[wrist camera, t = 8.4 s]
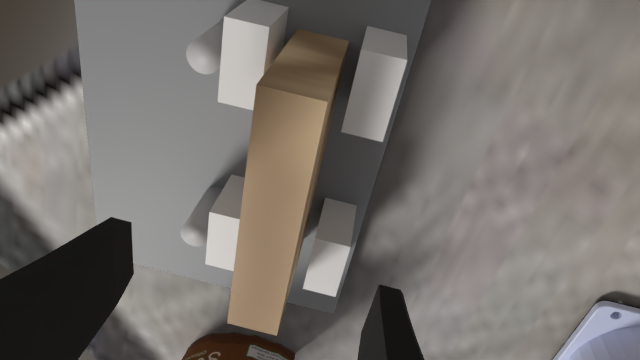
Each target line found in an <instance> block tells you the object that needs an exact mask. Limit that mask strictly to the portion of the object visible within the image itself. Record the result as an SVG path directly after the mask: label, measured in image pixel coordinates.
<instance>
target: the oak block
mask: <svg viewBox="0 0 640 360" xmlns="http://www.w3.org/2000/svg"><path fill="white" fill-rule="evenodd" d="M348 44H349V41H346V40H342V39H338V38H334V37H330V36H325V35H321V34H317V33H313V32H309V31H304V30H300V29H298V30H297V31H296V32H295V34H294V35H293V36H292V38H291V39H290V40H289V42H288V43H287V44H286V46H285V47H284V48H283V50H282V51H281V52H280V54H279V55H278V56H277V58H276V59H275V60H274V62H273V63H272V64H271V66H270V67H269V68H268V70H267V71H266V72H265V74H264V75H263V76H262V78H261V79H260V80H259V82H258V83H257V84H256V92H255V100H254V108H253V116H252V124H251V132H250V141H249V149H248V157H247V165H246V173H245V181H244V189H243V198H242V206H241V214H240V222H239V230H238V238H237V247H236V255H235V263H234V271H233V279H232V287H231V295H230V304H229V312H228V320H227V323H228V324H232V325H236V326H240V327H244V328H248V329H252V330H256V331H260V332H264V333H268V334H271V335H275V336H277V334H278V330H279V326H280V323H281V319H282V316H283V312H284V309H285V305H286V302H287V298H288V295H289V291H290V287H291V284H292V280H293V277H294V273H295V270H296V266H297V263H298V259H299V256H300V252H301V248H302V245H303V241H304V238H305V233H306V229H307V224H308V220H309V216H310V211H311V207H312V202H313V198H314V194H315V189H316V185H317V180H318V176H319V172H320V167H321V163H322V158H323V154H324V150H325V145H326V141H327V136H328V132H329V128H330V123H331V119H332V114H333V110H334V106H335V101H336V97H337V92H338V88H339V84H340V79H341V75H342V70H343V66H344V62H345V57H346V53H347V48H348Z"/></svg>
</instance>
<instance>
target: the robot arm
mask: <svg viewBox="0 0 640 360" xmlns="http://www.w3.org/2000/svg"><path fill="white" fill-rule="evenodd" d="M133 274H134V270H133V246H132V223H131V222H129V221H125V220H121V219H117V218H113V217H110V218H108V219H107V220H105V221H103V222H101V223H100V224H98V225H96V226H95V227H93V228H91V229H89V230H88V231H86V232H84V233H83V234H81V235H79V236H78V237H76V238H74V239H73V240H71V241H69V242H68V243H66V244H64V245H63V246H61V247H59V248H57V249H56V250H54V251H52V252H50V253H49V254H47V255H45V256H43V257H42V258H40V259H38V260H36V261H34V262H32V263H30V264H29V265H27V266H25V267H23V268H21V269H19V270H17V271H15V272H13V273H11V274H9V275H8V276H6V277H4V278H2V279H0V360H78V358H79V357H80V356H81V354H82V353H83V351H84V350H85V349H86V347H87V346H88V345H89V343H90V342H91V340H92V339H93V338H94V336H95V335H96V333H97V332H98V331H99V329H100V328H101V327H102V325H103V324H104V322H105V321H106V319H107V318H108V317H109V315H110V314H111V312H112V311H113V310H114V308H115V307H116V305H117V304H118V302H119V300H120V298H121V296H122V295H123V293H124V291H125V289H126V287H127V285H128V283H129V281H130V280H131V278H132V276H133ZM614 312H616V313H614ZM358 360H424V358H423V355H422V352H421V350H420V347H419V344H418V342H417V339H416V336H415V333H414V330H413V327H412V324H411V321H410V318H409V314H408V311H407V308H406V304H405V300H404V296H403V293H402V292H401V290H399V289H395V288H391V287H387V286H383V285H379V286H378V289H377V291H376V294H375V297H374V300H373V302H372V305H371V308H370V310H369V313H368V316H367V318H366V321H365V324H364V327H363V329H362V332H361V339H360V346H359V353H358ZM553 360H640V309H638V308H634V307H630V306H626V305H622V304H618V303H614V302H610V301H600V302H598V303H596V304H595V305H594V306H593V307H592V309H591V310H590V311H589V313H588V314H587V315H586V317H585V318H584V319H583V321H582V322H581V323H580V325H579V326H578V327H577V328H576V330H575V331H574V332H573V334H572V335H571V336H570V338H569V339H568V340H567V342H566V343H565V344H564V346H563V347H562V348H561V350H560V351H559V352H558V353H557V355H556V356H555V357H554V359H553Z"/></svg>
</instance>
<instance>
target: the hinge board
mask: <svg viewBox="0 0 640 360" xmlns="http://www.w3.org/2000/svg"><path fill="white" fill-rule="evenodd" d="M74 1H75V11H76V21H77V32H78V43H79V53H80V63H81V74H82V84H83V94H84V105H85V115H86V125H87V136H88V146H89V156H90V167H91V177H92V187H93V198H94V208H95V219H96V225H98V224H100V223H101V222H103V221H105V220H107V219H108V218H110V217H113V218H117V219H121V220H125V221H129V222H131V223H132V246H133V264H136V265H140V266H144V267H148V268H152V269H156V270H160V271H164V272H168V273H172V274H175V275H179V276H183V277H187V278H191V279H195V280H199V281H203V282H207V283H211V284H215V285H219V286H223V287H227V288H231V287H232V279H233V271H234V263H235V255H236V247H237V238H238V230H239V222H240V214H241V206H242V198H243V189H244V181H245V173H246V165H247V157H248V149H249V141H250V132H251V124H252V116H253V108H254V100H255V92H256V84H257V83H258V82H259V80H260V79H261V78H262V76H263V75H264V74H265V72H266V71H267V70H268V68H269V67H270V66H271V64H272V63H273V62H274V60H275V59H276V58H277V56H278V55H279V54H280V52H281V51H282V50H283V48H284V47H285V46H286V44H287V43H288V42H289V40H290V39H291V38H292V36H293V35H294V34H295V32H296V31H297V30H298V29H300V30H304V31H309V32H313V33H317V34H321V35H325V36H330V37H334V38H338V39H342V40H346V41H349V44H348V48H347V53H346V57H345V62H344V66H343V70H342V75H341V79H340V84H339V88H338V92H337V97H336V101H335V106H334V110H333V114H332V119H331V123H330V128H329V132H328V136H327V141H326V145H325V150H324V154H323V158H322V163H321V167H320V172H319V176H318V180H317V185H316V189H315V194H314V198H313V202H312V207H311V211H310V216H309V220H308V224H307V229H306V233H305V238H304V241H303V245H302V248H301V252H300V256H299V259H298V263H297V266H296V270H295V273H294V277H293V280H292V284H291V287H290V291H289V295H288V298H287V302H286V303H290V304H294V305H298V306H302V307H306V308H310V309H314V310H318V311H321V312H325V313H329V314H333V315H334V313H335V310H336V307H337V303H338V300H339V297H340V294H341V291H342V287H343V284H344V281H345V278H346V274H347V271H348V268H349V265H350V262H351V258H352V255H353V252H354V249H355V246H356V242H357V239H358V236H359V233H360V229H361V226H362V223H363V220H364V217H365V213H366V210H367V207H368V204H369V201H370V197H371V194H372V191H373V188H374V184H375V181H376V178H377V175H378V172H379V168H380V165H381V162H382V159H383V156H384V152H385V149H386V146H387V143H388V139H389V136H390V133H391V130H392V127H393V123H394V120H395V117H396V114H397V111H398V107H399V104H400V101H401V98H402V94H403V91H404V88H405V85H406V82H407V78H408V75H409V72H410V69H411V65H412V62H413V59H414V56H415V53H416V49H417V46H418V43H419V40H420V37H421V33H422V30H423V27H424V24H425V20H426V17H427V14H428V11H429V8H430V4H431V1H432V0H74Z"/></svg>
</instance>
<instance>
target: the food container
mask: <svg viewBox="0 0 640 360" xmlns="http://www.w3.org/2000/svg"><path fill="white" fill-rule="evenodd" d="M294 358H295V353H294V352H292V351H291V350H289V349H287V348H286V347H284V346H282V345H280V344H278V343H275V342H272V341H270V340H267V339H264V338H262V337H259V336H254V335H248V334H241V333H235V332H233V333H219V334H212V335H209V336H206V337H203V338H200V339H199V340H197V341H196V342H194V343H193V344H192V345H191V346H190V347H189V348H188V350H187V352H186V353H185V355H184V357H183V359H182V360H294Z"/></svg>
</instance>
